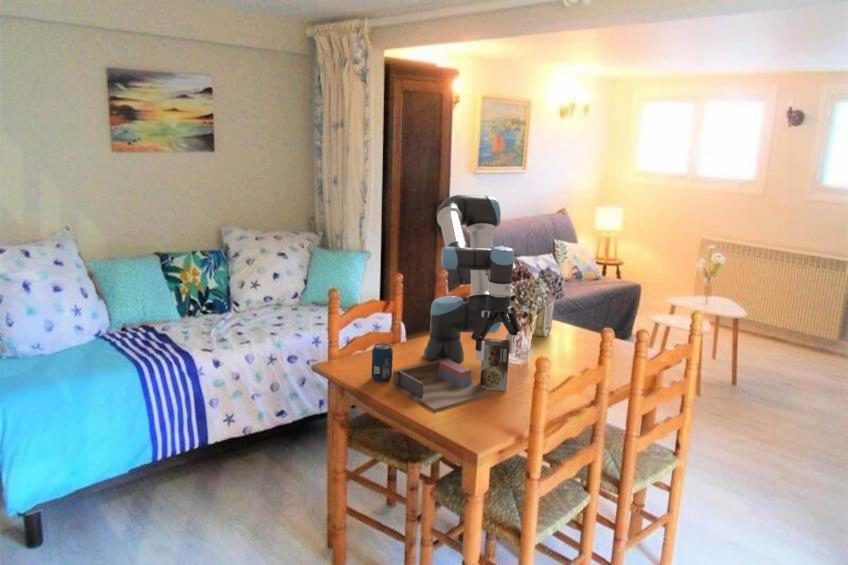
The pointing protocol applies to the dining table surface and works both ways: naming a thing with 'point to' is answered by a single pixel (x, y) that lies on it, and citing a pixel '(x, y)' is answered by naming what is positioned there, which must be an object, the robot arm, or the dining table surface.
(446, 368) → the books
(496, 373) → the coffee box
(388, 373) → the soda can
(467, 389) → the book stand
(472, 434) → the dining table surface
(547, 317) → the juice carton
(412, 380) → the grey upright panel
